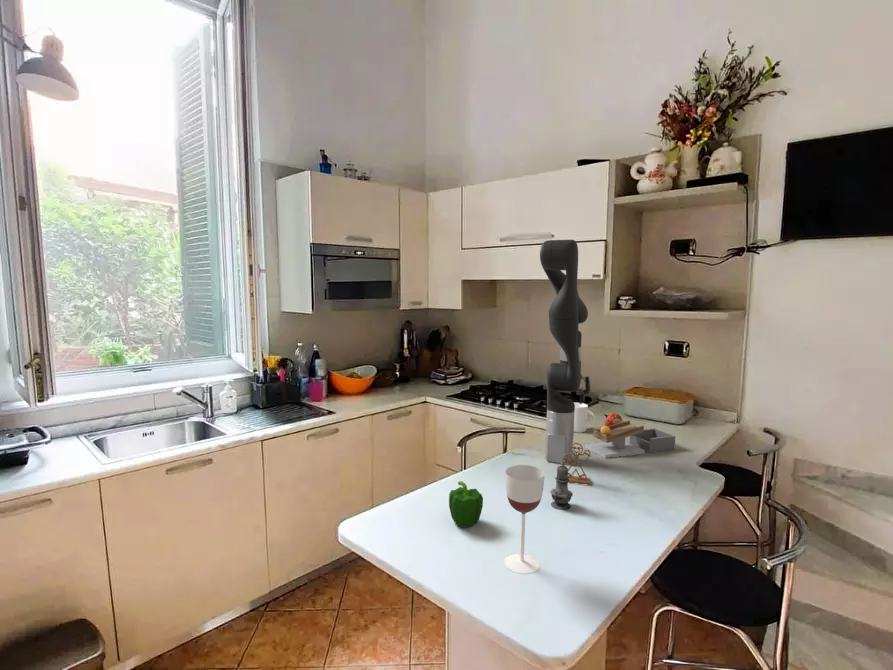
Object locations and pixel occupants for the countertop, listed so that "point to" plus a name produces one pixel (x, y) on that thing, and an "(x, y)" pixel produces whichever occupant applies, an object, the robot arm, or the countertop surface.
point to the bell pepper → (465, 505)
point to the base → (614, 448)
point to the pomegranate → (611, 419)
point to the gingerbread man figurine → (579, 478)
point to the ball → (605, 430)
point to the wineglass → (523, 509)
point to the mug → (582, 418)
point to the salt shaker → (561, 490)
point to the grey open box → (653, 440)
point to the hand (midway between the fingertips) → (569, 402)
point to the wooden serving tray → (618, 431)
